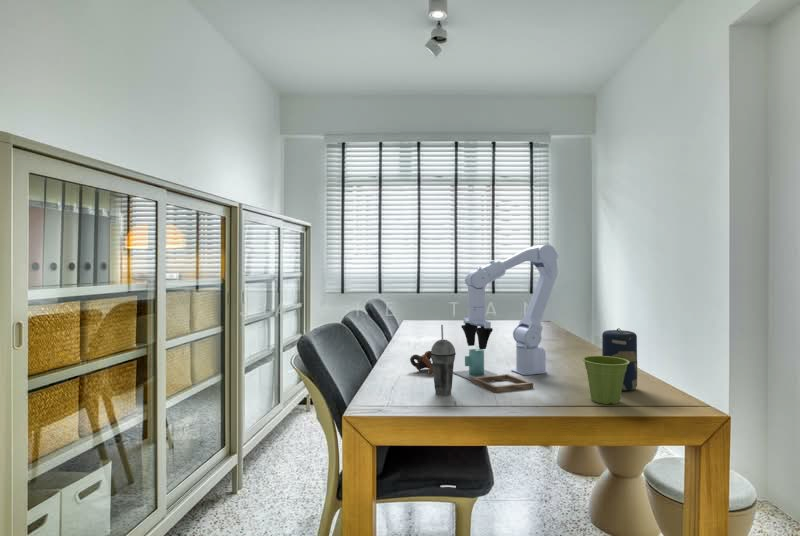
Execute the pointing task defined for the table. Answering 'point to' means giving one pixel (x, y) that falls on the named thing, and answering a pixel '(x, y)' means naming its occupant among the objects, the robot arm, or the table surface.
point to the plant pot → (605, 377)
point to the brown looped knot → (423, 362)
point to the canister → (622, 353)
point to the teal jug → (475, 362)
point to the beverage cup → (443, 365)
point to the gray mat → (469, 377)
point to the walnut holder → (520, 385)
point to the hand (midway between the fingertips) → (476, 347)
